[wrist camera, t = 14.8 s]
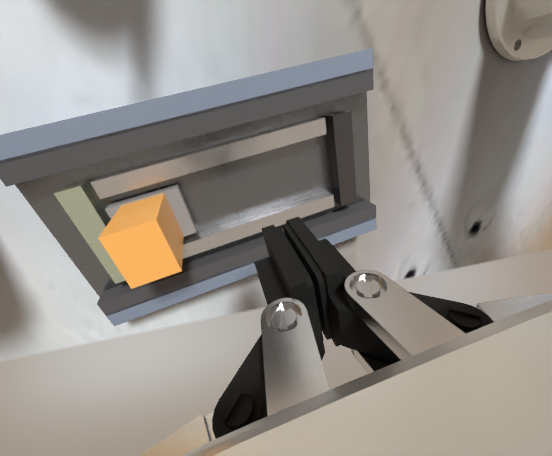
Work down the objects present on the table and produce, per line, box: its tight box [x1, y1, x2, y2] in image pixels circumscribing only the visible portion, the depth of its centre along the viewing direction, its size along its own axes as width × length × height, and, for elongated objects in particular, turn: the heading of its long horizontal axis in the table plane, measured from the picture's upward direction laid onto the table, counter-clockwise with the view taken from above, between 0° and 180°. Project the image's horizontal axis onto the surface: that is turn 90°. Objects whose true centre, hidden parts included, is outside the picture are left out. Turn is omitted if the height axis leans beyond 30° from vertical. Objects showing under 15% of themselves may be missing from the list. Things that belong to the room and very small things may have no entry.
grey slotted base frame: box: [15, 91, 370, 297], centre depth 21 cm, size 26×15×3 cm, turn 102°
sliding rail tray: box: [0, 48, 376, 326], centre depth 20 cm, size 25×15×2 cm, turn 102°
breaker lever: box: [98, 184, 197, 289], centre depth 17 cm, size 5×4×6 cm
